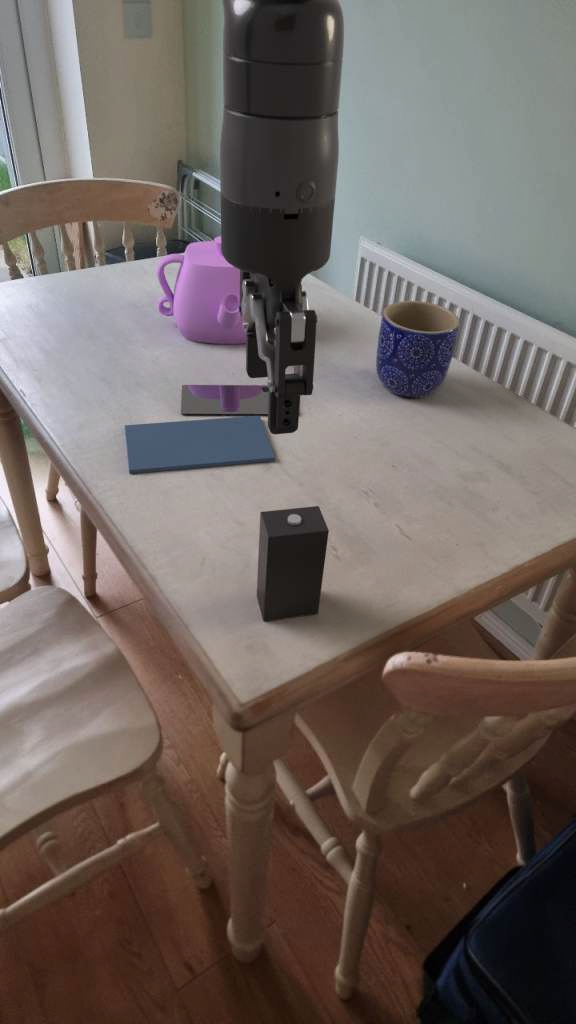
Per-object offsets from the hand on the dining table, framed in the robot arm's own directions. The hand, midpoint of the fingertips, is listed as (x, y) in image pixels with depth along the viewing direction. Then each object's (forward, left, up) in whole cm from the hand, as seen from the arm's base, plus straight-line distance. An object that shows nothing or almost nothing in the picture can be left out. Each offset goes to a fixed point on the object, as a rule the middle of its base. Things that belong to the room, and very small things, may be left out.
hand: (270, 402), depth 56 cm
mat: (-3, +27, -22) cm, 35 cm away
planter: (+30, +38, -23) cm, 54 cm away
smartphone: (+4, +37, -22) cm, 44 cm away
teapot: (+6, +60, -23) cm, 65 cm away
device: (+2, -2, -22) cm, 22 cm away
